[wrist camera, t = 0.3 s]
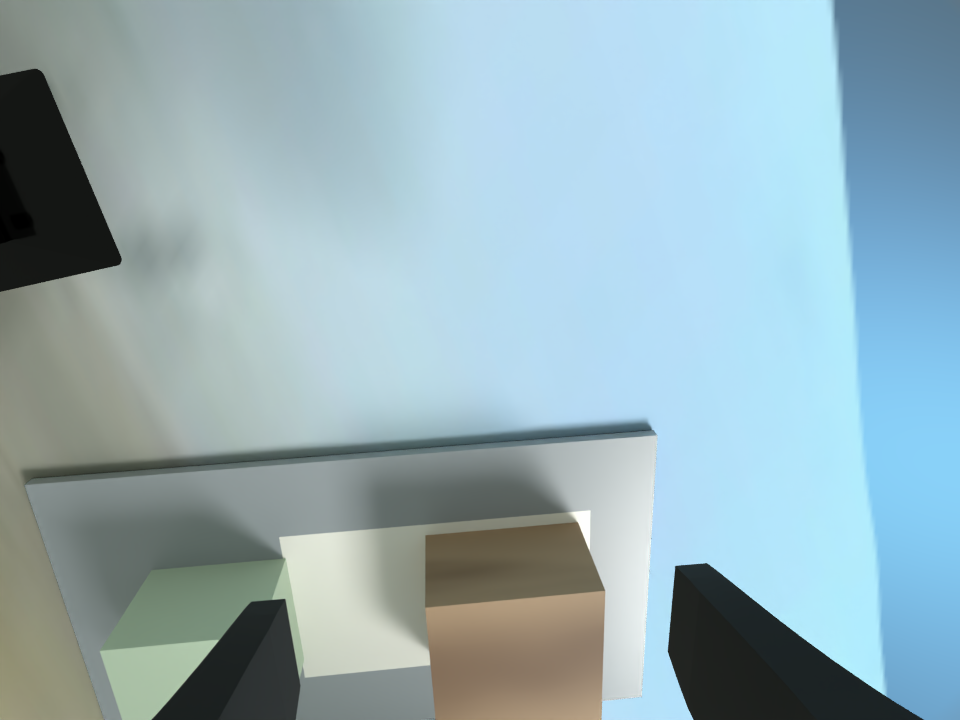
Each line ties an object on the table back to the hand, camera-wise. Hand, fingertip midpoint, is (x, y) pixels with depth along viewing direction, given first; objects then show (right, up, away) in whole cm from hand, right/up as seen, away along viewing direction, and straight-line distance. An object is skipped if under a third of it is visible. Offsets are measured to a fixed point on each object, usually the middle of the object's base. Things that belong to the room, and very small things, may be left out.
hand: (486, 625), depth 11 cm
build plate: (-4, -4, +12) cm, 13 cm away
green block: (-9, -4, +11) cm, 15 cm away
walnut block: (+1, -4, +11) cm, 12 cm away
